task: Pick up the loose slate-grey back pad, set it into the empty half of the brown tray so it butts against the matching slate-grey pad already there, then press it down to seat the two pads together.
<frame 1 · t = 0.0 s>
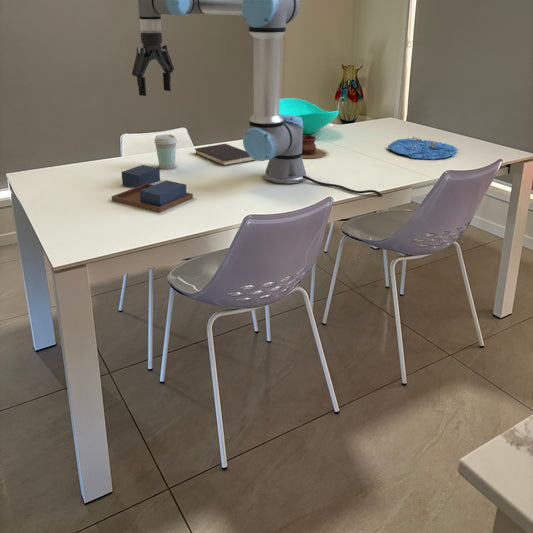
hand: (155, 93, 220), 28 cm above the table, tool pointing down, fingers open, 13 cm apart
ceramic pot: (305, 153, 251), on the table
table top decor: (304, 133, 287), on the table
brown tray: (152, 200, 195), on the table
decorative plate: (423, 151, 257), on the table
coffee cup: (167, 167, 230), on the table
pad a: (164, 202, 192), resting on brown tray
pad b: (141, 183, 211), on the table
hardcover book: (225, 157, 245), on the table
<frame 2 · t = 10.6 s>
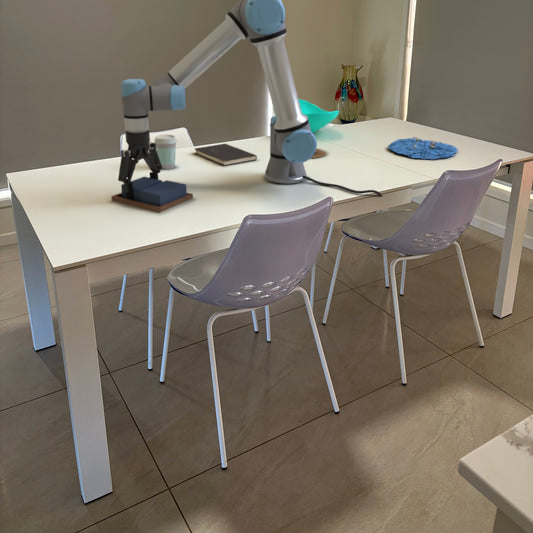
hand: (142, 196, 196), 1 cm above the table, tool pointing down, fingers closed on pad b, 11 cm apart
pad b: (143, 196, 196), point 1 cm above the table, touching gripper
everything else where it was.
when the fingers open (1 cm above the table, at t = 14.4 s): pad b stays where it is, resting on brown tray.
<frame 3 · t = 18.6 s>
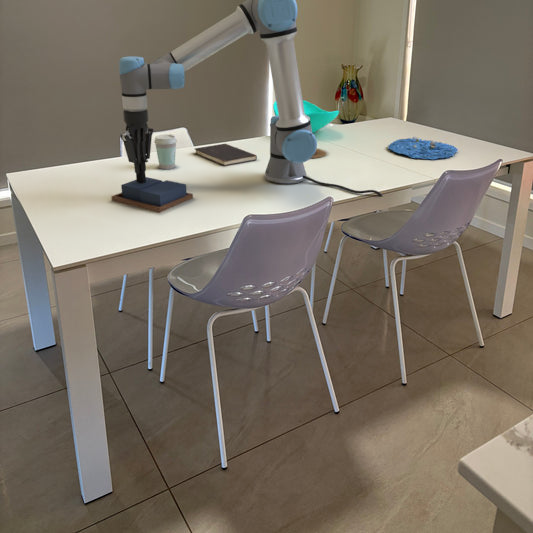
hand: (141, 181, 194), 6 cm above the table, tool pointing down, fingers closed
pad b: (143, 197, 196), resting on brown tray, touching gripper
everything else where it was.
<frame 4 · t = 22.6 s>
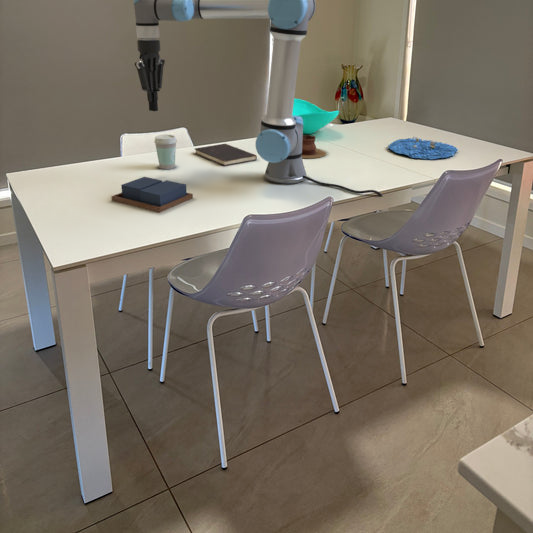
hand: (153, 110, 208), 24 cm above the table, tool pointing down, fingers closed
pad b: (143, 197, 196), resting on brown tray
everything else where it was.
at the end: pad b 0.2 cm from the target spot in the brown tray, point 0.5 cm above the brown tray's base; pad b 9.2 cm from the pad a (horizontally); pad b tilted 0° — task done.
